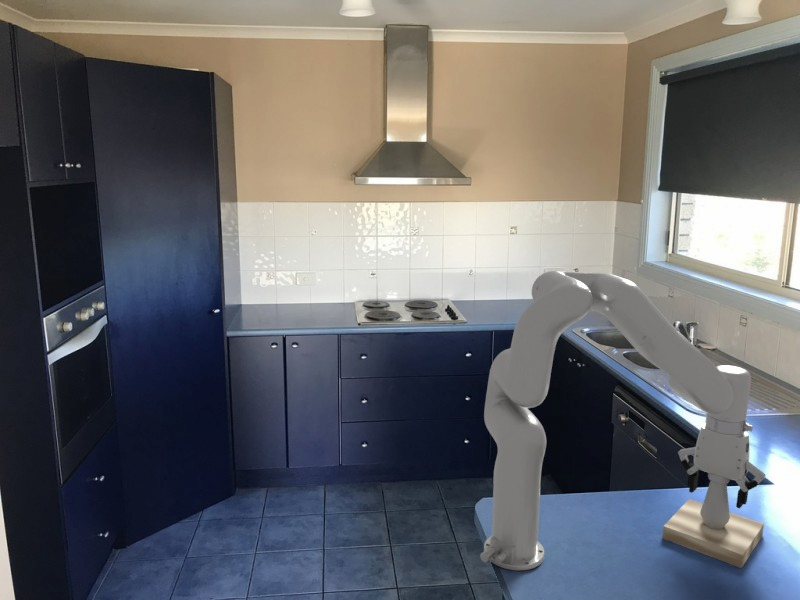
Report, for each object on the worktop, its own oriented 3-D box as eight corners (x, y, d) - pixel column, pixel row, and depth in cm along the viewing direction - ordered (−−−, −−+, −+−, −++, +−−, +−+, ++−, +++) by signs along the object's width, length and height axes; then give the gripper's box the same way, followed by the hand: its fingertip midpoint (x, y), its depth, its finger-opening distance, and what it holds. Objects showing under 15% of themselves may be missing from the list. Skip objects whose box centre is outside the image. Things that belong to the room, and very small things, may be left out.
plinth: (741, 568, 132) (743, 555, 131) (662, 538, 142) (663, 525, 142) (762, 535, 143) (764, 523, 143) (687, 510, 154) (689, 498, 153)
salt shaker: (719, 517, 145) (726, 463, 143) (733, 531, 140) (740, 476, 137) (694, 518, 145) (700, 464, 142) (707, 532, 139) (713, 476, 137)
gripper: (775, 430, 135) (764, 505, 138) (689, 408, 146) (681, 478, 149) (765, 441, 129) (754, 519, 133) (677, 417, 140) (669, 490, 144)
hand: (715, 497), depth 141 cm, fingers open, 9 cm apart
